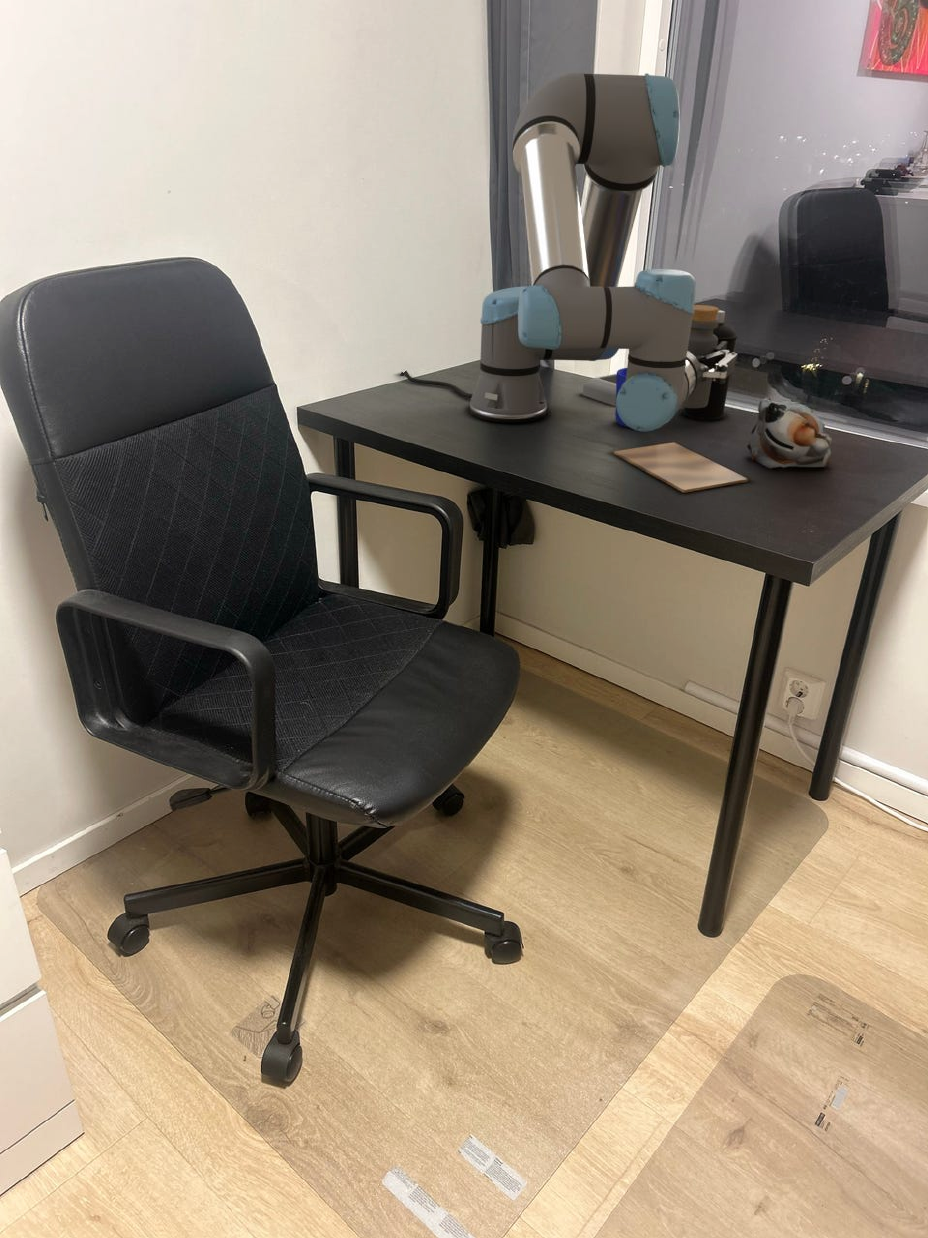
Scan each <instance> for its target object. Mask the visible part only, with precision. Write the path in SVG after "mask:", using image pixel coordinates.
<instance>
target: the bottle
mask: <svg viewBox="0 0 928 1238" xmlns="http://www.w3.org/2000/svg"><path fill="white" fill-rule="evenodd" d="M719 310H720V309H719V308H718V307H717V306H712V305H707V304H706V305H705V304H701V305H700V304H694V314H693V319H692V325H691V331H690V338H689V344H688V350H687V351H689V352H690V353H692V354H693V355H694V356H696V355H701V356H706V355H709V354H712V353H714V351H715V348H716V347H717V343H718V338H717V337H716V336H715V335H714V334H713V330H714V329H715V328H717V327H718V320H716V317H717V314H718V311H719ZM711 382H712V378H707V380H706V381H704V382H700V384H699V386H698V388H697V389H696V390H695V392H694V393H693V394H692V395H691V396H690V397H689V398H688V399H687V400H686V401H685V402H684V403H683V405H682V406H681V407H680V408H703V407H706V406H707V405H708V400H709V394H710V388H711Z"/></svg>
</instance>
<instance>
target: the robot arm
mask: <svg viewBox="0 0 928 1238" xmlns="http://www.w3.org/2000/svg"><path fill="white" fill-rule="evenodd" d="M680 112H681V111H680V97H679V91H678V88H677V85H676V83H675V81H674V80H673V79H672V78H671V77H669V76H665V75H652V74H649V73H646V72H645V73H644V75H642V74H641V75H639V74H638V75H637V74H614V73H613V74H612V73H608V74H607V73H583V72H572V73H566V74H563V75H560V76H557V77H555V78H554V79H552V80H550V81H548V82H546V83H545V84H544V85H543V86H541V87H540V88H538V90H536V91H535V93H533V95H532V96H531V97H530V98H529V99H528V101H527V102H526V104H525V105H524V107H523V109H522V110H521V112H520V114H519V116H518V118H517V121H516V122H515V126H514V130H513V134H512V141H511V143H512V145H511V146H512V147H511V148H512V149H511V150H512V159H513V165H514V168H515V170H516V172H517V173H518V174H519V176H520V177H521V182H522V183H521V184H522V195H523V204H524V205H523V206H524V215H525V227H526V238H527V239H526V240H527V249H528V259H529V270H530V281H531V285H528V286H527V285H526V286H525V285H523V286H515V287H507V288H503V289H499V290H495V291H493V292H491V293H489V294H487V295H486V296H485V297H484V299H483V301H482V308H481V317H480V321H479V322H480V324H481V336H480V360H479V361H480V364H479V365H480V366H479V373H478V374H479V375H478V378H477V381H476V383H475V387H474V390H473V392H472V393H468V392H465V391H463V390H462V389H461V388H460V387H458V386H457V385H455V384H452V383H449V382H445V381H435V380H429V379H428V380H425V379H419V378H414V377H412V376H411V375H410V373H409V372H408V371H407V370H406V371H405V372H404V373H403V372H402V371H401V372H400V374H399V376H401V377H403V376H405V378H406V379H407V380H408V381H409V382H412V383H415V384H422V385H432V386H440V387H446V388H449V389H452V390H454V391H455V392H457V393H458V394H459V395H460V396H462V397H464V398H470V402H469V413H470V414H471V415H473V417H476V418H477V419H480V420H484V421H488V422H493V423H501V424H502V423H503V424H522V423H523V424H524V423H530V422H534V421H538V420H540V419H543V418H544V417H545V416H546V415H547V408H548V405H547V399H546V395H545V391H544V387H543V384H542V379H541V375H540V370H541V369H540V368H541V361H581V362H582V361H583V362H584V361H587V362H597V361H604V360H609V359H612V358H613V357H614V356H615V355H616V354H617V353H618V352H619V350H628V354H627V365H626V368H627V374H626V381H625V382H624V383H623V384H622V387H621V389H620V390H619V392H618V395H617V399H616V406H615V409H616V408H617V412H618V415H619V417H620V418H621V420H622V421H623V422H624V423H625V424H626V425H627V426H628V427H630V428H629V429H632V430H634V431H637V432H640V433H641V432H652V431H656V430H658V429H660V428H661V427H662V426H664V425H665V424H668V423H669V422H670V421H671V420H672V419H673V417H675V414H676V413H677V412H678V411H679V410H680V409H681V408H682V407H681V406H682V405H683V403H684V402H685V401H686V400H687V399H688V398H689V397H690V396H691V395H692V394H693V393H694V392H695V390H696V389H697V388H698V386H699V384H700V382H704V381H706V380H707V378H713V381H716V382H717V383H718V384H724V383H725V379H726V377H728V376H729V375H730V376H731V374H732V373H734V371H735V370H736V365H737V360H738V359H737V358H738V353H736V352H734V353H729V352H730V351H729V350H726V347H727V341H722V342H721V343H720V344H719V345H718V346H717V347H716V348H715V351H714V353H712V354H709V355H706V356H701V355H696V356H694V355H693V354H692V353H690V352H689V351H687V350H688V344H689V338H690V331H691V325H692V319H693V314H694V305H695V300H696V289H697V288H696V287H697V286H696V285H697V283H696V279H695V277H694V275H692V274H691V273H689V272H688V271H684V270H681V269H680V270H679V269H671V268H652V269H649V268H648V269H643V270H641V271H639V272H638V274H637V275H636V279H635V282H634V285H632V286H618V285H619V281H620V278H621V274H622V270H623V267H624V262H625V259H626V254H627V250H628V247H629V243H630V240H631V237H632V236H631V235H632V232H633V228H634V225H635V220H636V217H637V214H638V213H637V212H638V209H639V205H640V201H641V199H642V198H641V197H642V193H643V190H645V189H646V188H648V187H649V186H651V185H652V184H653V182H655V180H656V178H657V175H658V171H659V168H660V166H662V168H666V167H668V166H671V165H672V164H673V163H674V162H675V160H676V157H677V154H678V149H679V140H680V126H681V125H680V124H681V121H680V119H681V117H680V116H681V115H680ZM577 165H583V170H584V173H585V174H586V176H587V178H588V179H589V182H588V188H587V192H586V197H585V202H584V208H583V211H582V209H581V202H580V196H579V195H580V194H579V185H578V178H577V171H576V166H577ZM628 427H627V428H628Z"/></svg>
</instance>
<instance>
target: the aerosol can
mask: <svg viewBox="0 0 928 1238" xmlns="http://www.w3.org/2000/svg"><path fill="white" fill-rule="evenodd" d="M725 315H726V312H725V311H724V310H720V309H719V311H718V314H717V317H716V320H718V327H717V328H715V329H714V330H713V334H714V335H715V336H716V337H717V338H718V343H717V346H718V345H719V344H720V343H721V342H722V341H727V347H726V350H729V351H730V352H729V353H735V348H736V342H737V339H738V337H739V335H738V333H736V331H735V330H734V328H733V327H732V326H730V325H729V324H726V323H725V322H724V321H725ZM730 378H731V374H730V375H729V376H728V377H726V379H725V383H724V384H718V383H717V382H716V381H713V378H712V382H711V388H710V394H709V400H708V405H707V406H706V407H703V408H685V407H683V410H682V414H683V415H684V416H685V417H687V418H689V419H693V420H699V421H709V422H710V421H719V420H722V419H723V418H725V415H726V414H725V413H724V412H725V407H726V400H727V395H728V389H729V384H730Z"/></svg>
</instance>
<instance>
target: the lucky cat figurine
mask: <svg viewBox="0 0 928 1238" xmlns="http://www.w3.org/2000/svg"><path fill="white" fill-rule="evenodd" d="M758 403H759V405H758V407H757V411H758V413H757V422H756V423H755V425H754V427H753V428H752V430H751V434H750V436H749V441H748V444H747V446H746V447H747V448H748V450H749V451H750V456H751V461H754V462H756V463H757V464H760V465H762V466H763V467H765V468H766V469H767V468H768V469H770V470H771V469H776V468H788V467H792V468H793V467H794V468H795V467H799V468H823V469H825V468H826V467H827V466H828V462H829V459H830V458H831V455H832V452H831V448H830V446H831V444H832V440H833V437H830V435H829V434H828V433H825V432H824V431H825V427H826V426H825V424H824V422H823V420H822V419H821V417H820V416H819V415H818V414H817V413H814V410H812V409H811V408H809V407H808V406H807V405H805V404H802V403H800V402H798V401H790V400H782V401H779V402H777V403H775V402H772V399H771V398H770V397H765V398H763V399H761V400H760V401H759V402H758Z"/></svg>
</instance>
